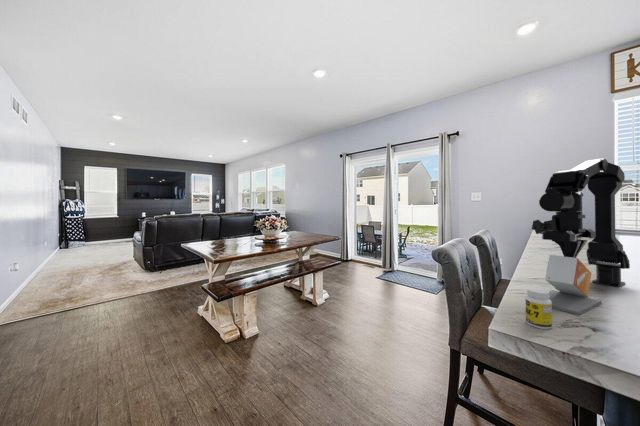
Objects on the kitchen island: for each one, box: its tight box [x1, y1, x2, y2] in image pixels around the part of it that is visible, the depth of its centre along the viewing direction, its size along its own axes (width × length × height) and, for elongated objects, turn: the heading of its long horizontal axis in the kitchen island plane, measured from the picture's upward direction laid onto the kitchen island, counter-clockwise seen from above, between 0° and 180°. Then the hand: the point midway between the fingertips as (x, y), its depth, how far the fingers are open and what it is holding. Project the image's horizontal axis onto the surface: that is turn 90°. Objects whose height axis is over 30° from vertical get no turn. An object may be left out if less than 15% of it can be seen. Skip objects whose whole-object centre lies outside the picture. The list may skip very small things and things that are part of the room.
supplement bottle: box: [525, 287, 553, 330], centre depth 60 cm, size 5×5×8 cm
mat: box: [548, 289, 603, 316], centre depth 72 cm, size 15×11×1 cm
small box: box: [545, 254, 592, 298], centre depth 75 cm, size 8×6×13 cm
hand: (569, 262), depth 76 cm, fingers closed
